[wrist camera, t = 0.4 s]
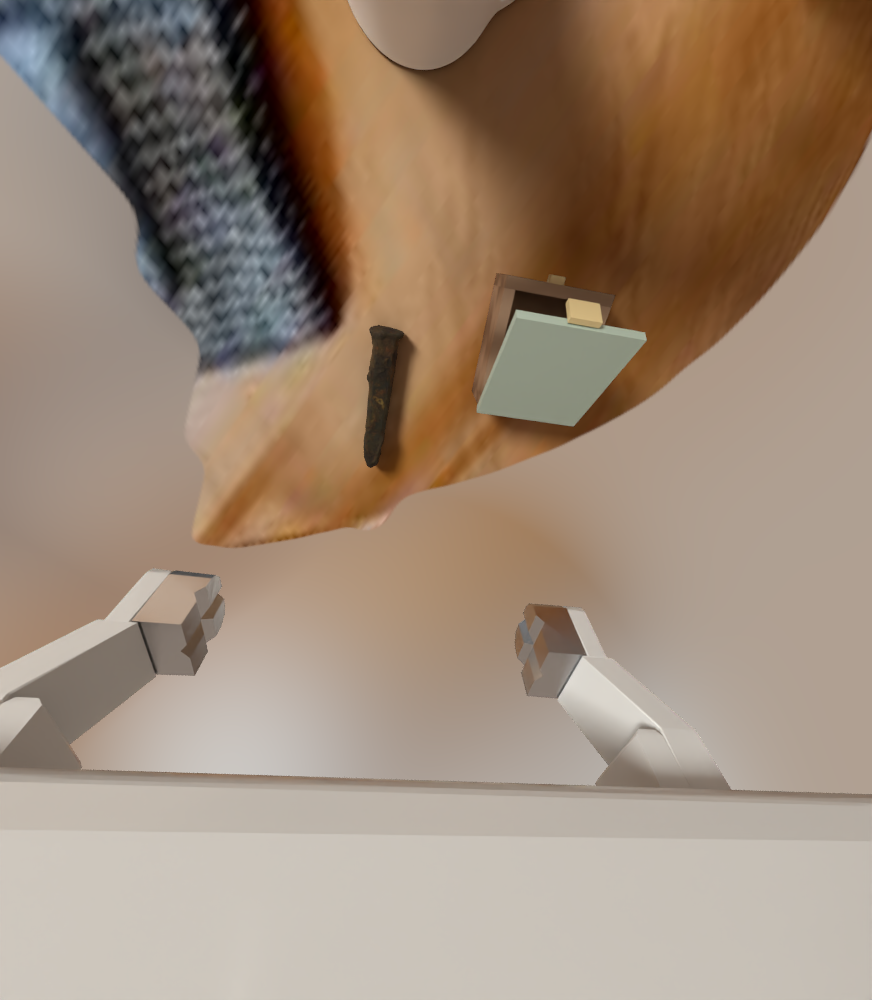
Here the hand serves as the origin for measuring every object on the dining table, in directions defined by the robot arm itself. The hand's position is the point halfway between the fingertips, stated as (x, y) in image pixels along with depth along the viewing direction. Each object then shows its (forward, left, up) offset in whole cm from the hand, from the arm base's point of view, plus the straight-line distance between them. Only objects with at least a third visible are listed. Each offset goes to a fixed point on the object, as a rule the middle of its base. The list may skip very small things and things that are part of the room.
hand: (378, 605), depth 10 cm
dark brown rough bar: (+9, -3, -45) cm, 46 cm away
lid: (-1, +15, -35) cm, 39 cm away
